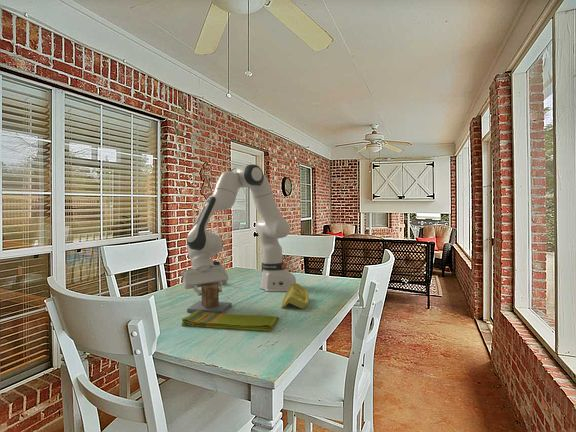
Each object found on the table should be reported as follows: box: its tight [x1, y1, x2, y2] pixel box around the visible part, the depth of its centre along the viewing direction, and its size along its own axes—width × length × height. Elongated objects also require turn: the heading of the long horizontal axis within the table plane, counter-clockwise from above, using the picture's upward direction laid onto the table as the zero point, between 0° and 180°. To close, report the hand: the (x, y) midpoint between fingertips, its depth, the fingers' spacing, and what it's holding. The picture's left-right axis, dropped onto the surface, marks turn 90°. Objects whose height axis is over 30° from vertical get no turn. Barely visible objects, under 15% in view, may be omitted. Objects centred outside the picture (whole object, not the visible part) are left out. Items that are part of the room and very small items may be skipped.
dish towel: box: [181, 310, 280, 333], centre depth 134 cm, size 15×36×3 cm, turn 79°
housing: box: [200, 284, 220, 308], centre depth 150 cm, size 6×6×9 cm
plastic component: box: [280, 282, 310, 310], centre depth 159 cm, size 20×7×10 cm
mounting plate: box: [186, 300, 233, 314], centre depth 150 cm, size 16×12×6 cm
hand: (210, 293), depth 150 cm, fingers open, 8 cm apart
